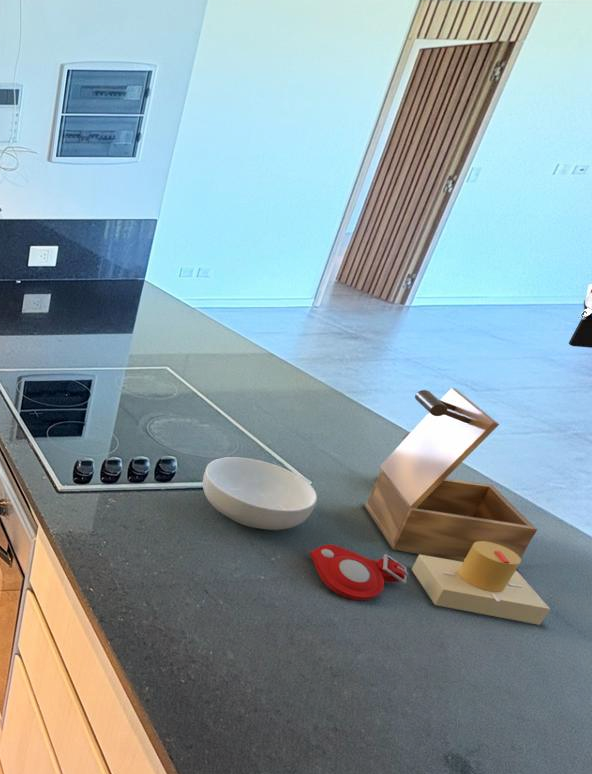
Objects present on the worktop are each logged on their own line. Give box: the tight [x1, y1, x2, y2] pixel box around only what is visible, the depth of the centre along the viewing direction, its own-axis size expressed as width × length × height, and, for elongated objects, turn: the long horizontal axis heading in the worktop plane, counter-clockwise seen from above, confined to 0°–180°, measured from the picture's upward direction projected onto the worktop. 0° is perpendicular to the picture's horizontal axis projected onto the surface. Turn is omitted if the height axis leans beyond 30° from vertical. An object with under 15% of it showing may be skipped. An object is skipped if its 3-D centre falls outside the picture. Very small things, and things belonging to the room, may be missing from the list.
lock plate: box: [411, 554, 551, 626], centre depth 89 cm, size 12×9×3 cm
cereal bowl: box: [202, 456, 318, 531], centre depth 106 cm, size 17×17×7 cm
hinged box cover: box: [379, 387, 500, 509], centre depth 97 cm, size 16×13×6 cm
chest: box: [364, 469, 538, 562], centre depth 101 cm, size 16×13×8 cm
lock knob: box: [459, 541, 522, 592], centre depth 87 cm, size 5×5×5 cm
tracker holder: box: [308, 544, 410, 601], centre depth 93 cm, size 12×4×10 cm
